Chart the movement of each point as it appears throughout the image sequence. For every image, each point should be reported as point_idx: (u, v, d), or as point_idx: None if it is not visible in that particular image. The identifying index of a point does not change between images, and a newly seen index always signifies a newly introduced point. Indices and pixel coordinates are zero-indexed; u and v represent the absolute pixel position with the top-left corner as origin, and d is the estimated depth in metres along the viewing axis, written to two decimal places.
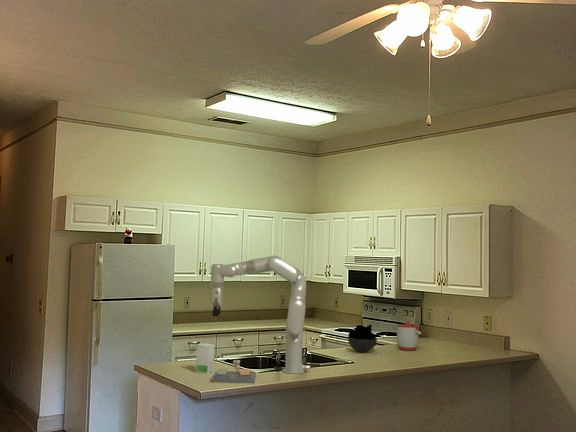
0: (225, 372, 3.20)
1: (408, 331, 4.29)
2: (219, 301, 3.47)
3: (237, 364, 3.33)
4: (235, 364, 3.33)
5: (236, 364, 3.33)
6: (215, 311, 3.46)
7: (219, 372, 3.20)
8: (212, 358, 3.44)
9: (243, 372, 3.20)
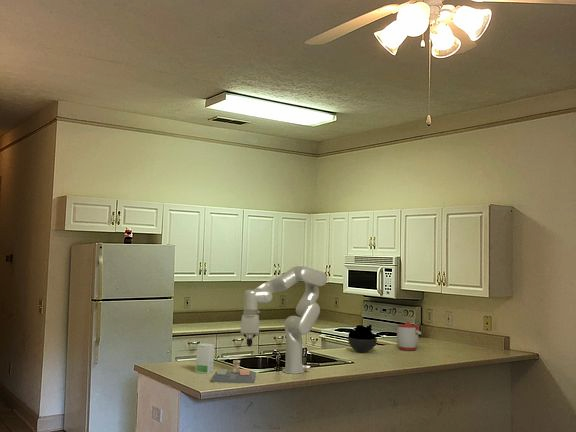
0: (225, 372, 3.20)
1: (408, 331, 4.29)
2: None
3: (237, 364, 3.33)
4: (235, 364, 3.33)
5: (236, 364, 3.33)
6: None
7: (219, 372, 3.20)
8: (212, 358, 3.44)
9: (243, 372, 3.20)
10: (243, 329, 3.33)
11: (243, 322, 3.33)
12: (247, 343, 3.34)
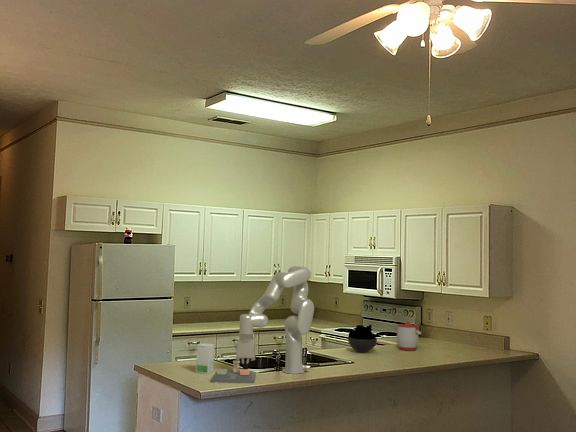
0: (225, 372, 3.20)
1: (408, 331, 4.29)
2: None
3: (237, 364, 3.33)
4: (235, 364, 3.33)
5: (236, 364, 3.33)
6: None
7: (219, 372, 3.20)
8: (212, 358, 3.44)
9: (243, 372, 3.20)
10: (239, 354, 3.32)
11: (239, 347, 3.32)
12: (243, 368, 3.33)
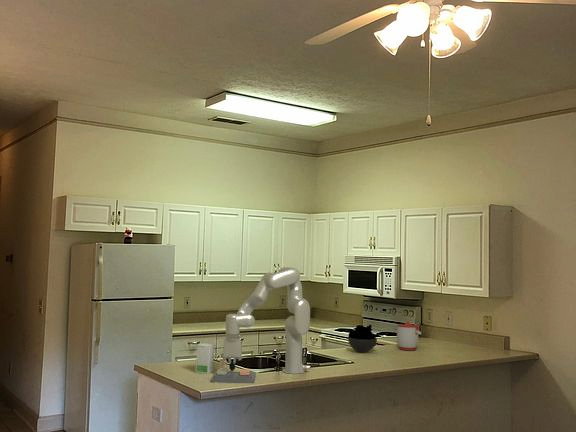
0: (225, 372, 3.20)
1: (408, 331, 4.29)
2: None
3: (224, 364, 3.33)
4: (222, 364, 3.33)
5: (223, 364, 3.33)
6: (234, 365, 3.34)
7: (219, 372, 3.20)
8: (212, 358, 3.44)
9: (243, 372, 3.20)
10: (225, 354, 3.32)
11: (225, 347, 3.32)
12: (230, 367, 3.33)
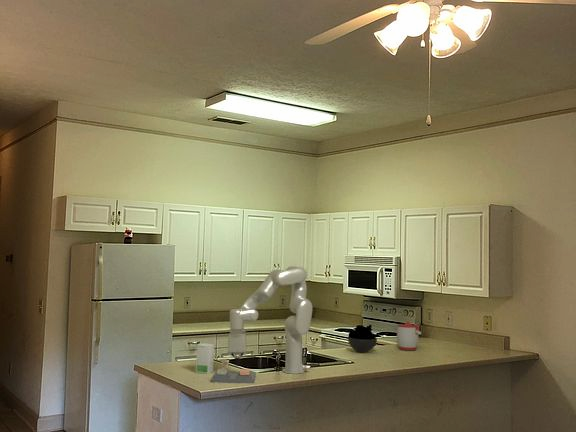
0: (225, 372, 3.20)
1: (408, 331, 4.29)
2: None
3: (226, 364, 3.33)
4: (224, 364, 3.33)
5: (225, 364, 3.33)
6: None
7: (219, 372, 3.20)
8: (212, 358, 3.44)
9: (243, 372, 3.20)
10: (230, 349, 3.33)
11: (230, 342, 3.33)
12: (235, 362, 3.34)
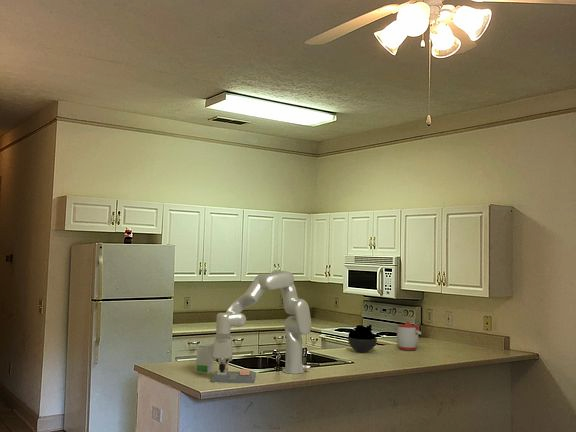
0: (225, 374, 3.20)
1: (408, 331, 4.29)
2: None
3: (226, 364, 3.33)
4: None
5: (225, 364, 3.33)
6: (224, 366, 3.23)
7: (219, 374, 3.20)
8: None
9: (243, 372, 3.20)
10: (215, 354, 3.21)
11: (215, 347, 3.21)
12: (219, 368, 3.22)
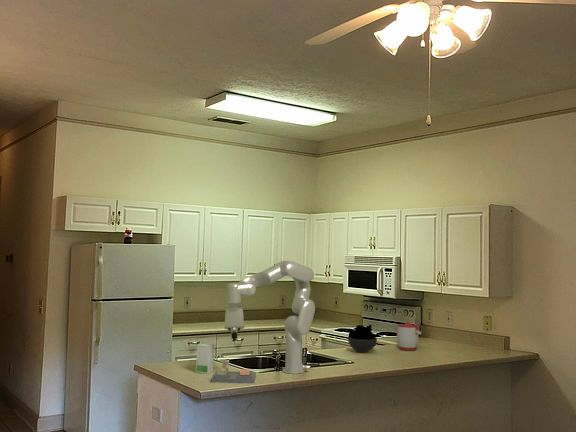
0: None
1: (408, 331, 4.29)
2: None
3: (226, 364, 3.33)
4: (224, 364, 3.33)
5: (225, 364, 3.33)
6: None
7: None
8: (212, 358, 3.44)
9: (243, 372, 3.20)
10: (227, 323, 3.30)
11: (227, 316, 3.30)
12: (232, 337, 3.31)
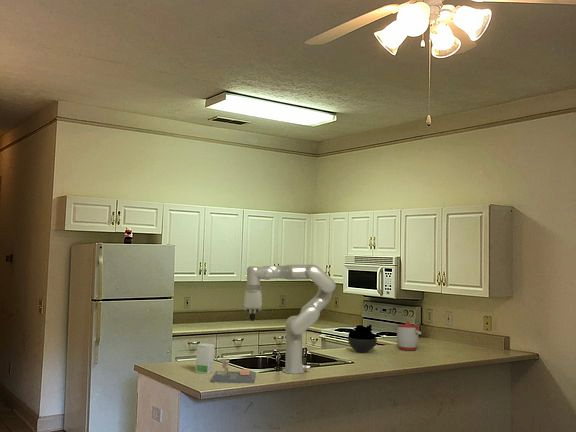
0: None
1: (408, 331, 4.29)
2: None
3: (226, 364, 3.33)
4: (224, 364, 3.33)
5: (225, 364, 3.33)
6: None
7: None
8: (212, 358, 3.44)
9: (243, 372, 3.20)
10: (246, 304, 3.46)
11: (246, 297, 3.46)
12: (250, 317, 3.47)
